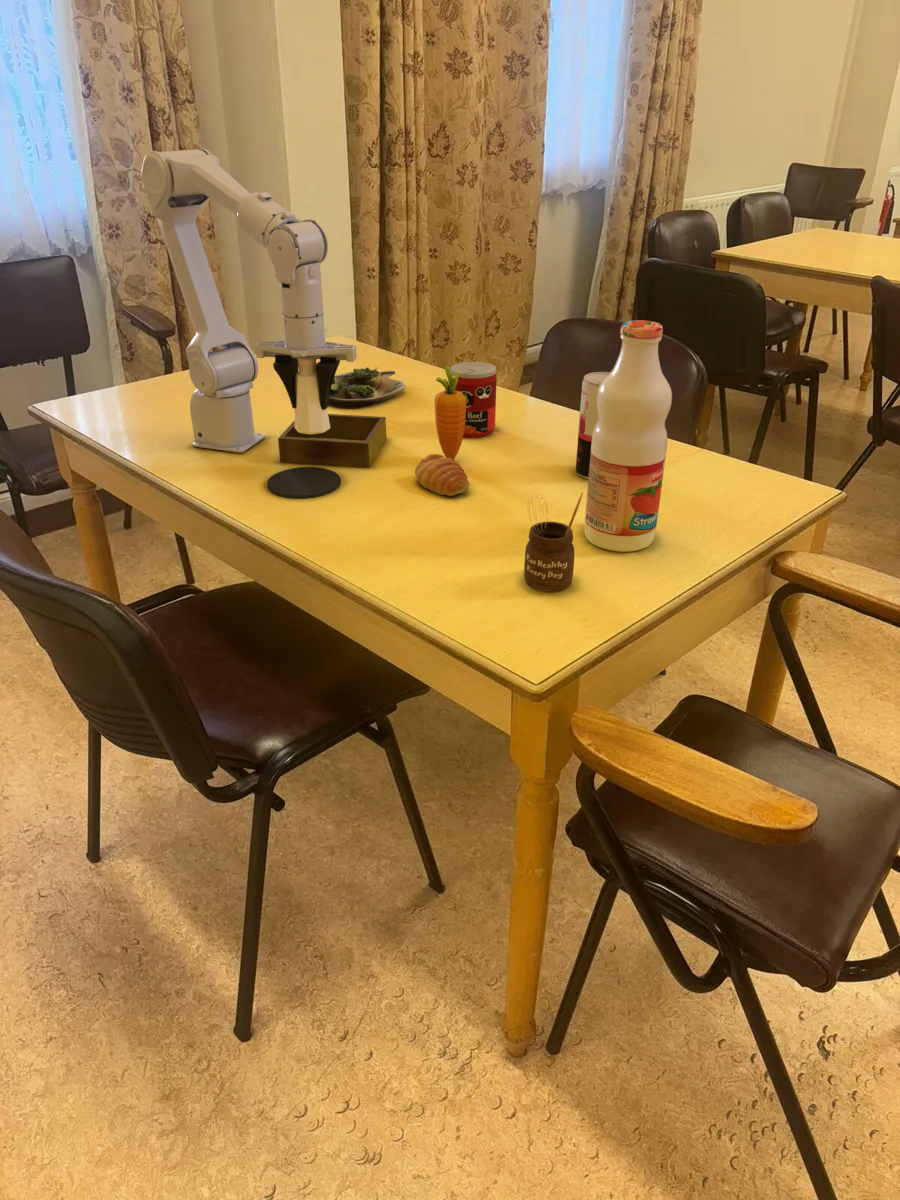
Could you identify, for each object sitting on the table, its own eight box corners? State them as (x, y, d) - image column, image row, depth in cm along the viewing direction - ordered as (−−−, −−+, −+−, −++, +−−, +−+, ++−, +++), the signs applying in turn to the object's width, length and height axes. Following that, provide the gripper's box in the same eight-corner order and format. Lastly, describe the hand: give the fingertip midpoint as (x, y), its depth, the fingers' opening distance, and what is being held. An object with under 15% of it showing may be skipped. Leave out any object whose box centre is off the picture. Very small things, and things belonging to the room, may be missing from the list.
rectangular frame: (280, 462, 142) (277, 438, 140) (303, 434, 153) (301, 412, 151) (369, 467, 140) (368, 443, 138) (386, 439, 151) (385, 416, 149)
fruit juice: (592, 517, 125) (611, 312, 111) (660, 528, 122) (688, 319, 108) (575, 546, 117) (593, 330, 103) (647, 558, 114) (676, 337, 100)
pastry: (480, 492, 132) (480, 468, 130) (441, 502, 129) (441, 478, 127) (447, 471, 139) (447, 448, 137) (409, 480, 136) (409, 457, 134)
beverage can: (571, 478, 137) (578, 381, 129) (580, 463, 142) (588, 369, 135) (613, 484, 135) (623, 386, 127) (621, 468, 140) (631, 374, 133)
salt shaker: (315, 420, 139) (310, 348, 133) (337, 428, 135) (333, 355, 130) (287, 428, 135) (280, 355, 130) (309, 437, 132) (303, 363, 127)
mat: (253, 492, 132) (253, 489, 132) (288, 466, 141) (288, 463, 141) (321, 502, 129) (321, 499, 129) (352, 474, 138) (352, 471, 138)
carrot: (462, 469, 140) (463, 374, 132) (431, 466, 141) (430, 372, 133) (468, 457, 144) (469, 365, 137) (438, 455, 145) (437, 363, 138)
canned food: (443, 435, 153) (443, 371, 148) (460, 420, 160) (461, 359, 154) (485, 441, 151) (486, 376, 145) (501, 426, 157) (503, 364, 152)
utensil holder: (528, 567, 112) (533, 478, 106) (578, 574, 111) (586, 484, 105) (518, 589, 107) (522, 498, 101) (570, 597, 106) (577, 505, 100)
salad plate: (369, 371, 185) (368, 349, 183) (427, 390, 174) (427, 367, 172) (292, 391, 174) (290, 368, 171) (349, 413, 163) (348, 388, 160)
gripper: (244, 318, 124) (254, 413, 131) (345, 322, 122) (351, 417, 129) (260, 307, 130) (270, 398, 137) (357, 310, 128) (362, 402, 135)
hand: (310, 406), depth 134 cm, fingers closed on salt shaker, 4 cm apart
